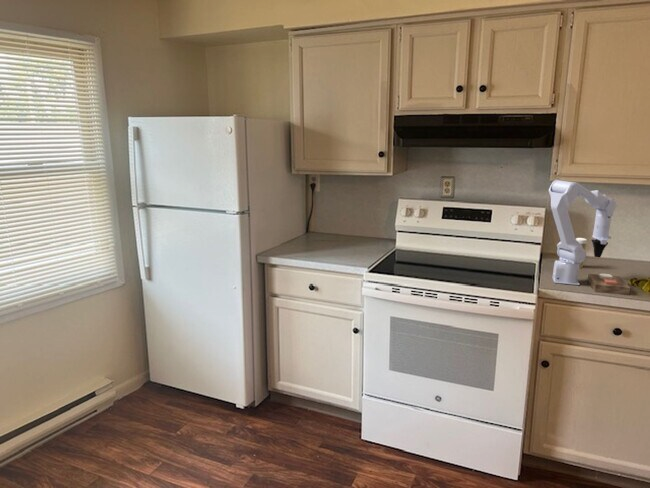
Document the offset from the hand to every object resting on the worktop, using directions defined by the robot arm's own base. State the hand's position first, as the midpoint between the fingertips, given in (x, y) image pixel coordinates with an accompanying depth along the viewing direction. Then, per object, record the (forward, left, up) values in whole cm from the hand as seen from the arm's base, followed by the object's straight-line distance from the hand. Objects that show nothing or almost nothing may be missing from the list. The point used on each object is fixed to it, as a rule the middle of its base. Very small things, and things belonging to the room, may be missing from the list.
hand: (597, 256), depth 208 cm
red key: (+3, -16, -8) cm, 18 cm away
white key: (+3, -8, -8) cm, 12 cm away
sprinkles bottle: (-4, +16, -10) cm, 19 cm away
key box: (+3, -13, -9) cm, 16 cm away
